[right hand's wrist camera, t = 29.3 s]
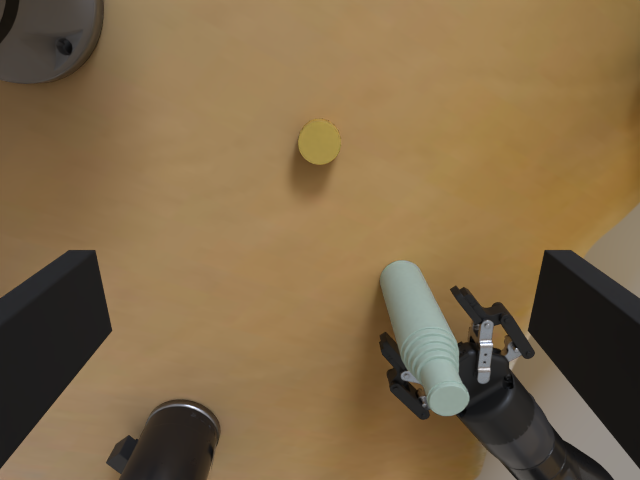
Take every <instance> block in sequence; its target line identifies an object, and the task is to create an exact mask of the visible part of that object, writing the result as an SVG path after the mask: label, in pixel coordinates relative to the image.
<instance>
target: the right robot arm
mask: <svg viewBox="0 0 640 480" xmlns="http://www.w3.org/2000/svg"><path fill="white" fill-rule="evenodd" d="M103 13H104V4H103V0H0V80H4V81H8V82H13V83H26V84H27V83H46V82H52V81H55V80H59V79H61V78H64V77H66V76H68V75H70V74H71V73H73V72H74V71H76V70H77V69H78V68H80V67H81V66H82V65H83V64H84V63H85V61H86V60H87V59H88V58H89V57H90V55H91V53H92V52H93V50H94V48H95V46H96V44H97V42H98V39H99V36H100V33H101V29H102V23H103ZM111 332H112V328H111V323H110V318H109V313H108V309H107V304H106V299H105V294H104V289H103V285H102V280H101V275H100V270H99V266H98V261H97V256H96V251H95V250H69V251H67V252H66V253H64V254H63V255H61V256H60V257H59V258H57V259H56V260H54V261H53V262H51V263H50V264H49V265H47V266H46V267H44V268H43V269H41V270H40V271H39V272H37V273H36V274H34V275H33V276H32V277H30V278H29V279H27V280H26V281H24V282H23V283H22V284H20V285H19V286H17V287H16V288H14V289H13V290H12V291H10V292H9V293H7V294H6V295H4V296H3V297H2V298H0V469H1V467H2V466H3V465H4V464H5V462H6V461H7V460H8V459H9V457H10V456H11V455H12V454H13V453H14V451H15V450H16V449H17V448H18V446H19V445H20V444H21V443H22V441H23V440H24V439H25V438H26V436H27V435H28V434H29V433H30V432H31V430H32V429H33V428H34V427H35V425H36V424H37V423H38V422H39V420H40V419H41V418H42V417H43V415H44V414H45V413H46V412H47V411H48V409H49V408H50V407H51V406H52V404H53V403H54V402H55V401H56V399H57V398H58V397H59V396H60V394H61V393H62V392H63V391H64V390H65V388H66V387H67V386H68V385H69V383H70V382H71V381H72V380H73V378H74V377H75V376H76V375H77V373H78V372H79V371H80V370H81V369H82V367H83V366H84V365H85V364H86V362H87V361H88V360H89V359H90V357H91V356H92V355H93V354H94V353H95V351H96V350H97V349H98V348H99V346H100V345H101V344H102V343H103V341H104V340H105V339H106V338H107V336H108V335H109V334H110V333H111ZM528 332H529V333H530V334H531V335H532V336H533V338H534V339H535V340H536V341H537V343H538V344H539V345H540V346H541V348H542V349H543V350H544V351H545V353H546V354H547V355H548V356H549V357H550V359H551V360H552V361H553V362H554V364H555V365H556V366H557V367H558V369H559V370H560V371H561V372H562V374H563V375H564V376H565V377H566V378H567V380H568V381H569V382H570V383H571V385H572V386H573V387H574V388H575V390H576V391H577V392H578V393H579V394H580V396H581V397H582V398H583V399H584V401H585V402H586V403H587V404H588V406H589V407H590V408H591V409H592V410H593V412H594V413H595V414H596V415H597V417H598V418H599V419H600V420H601V422H602V423H603V424H604V425H605V427H606V428H607V429H608V430H609V432H610V433H611V434H612V435H613V436H614V438H615V439H616V440H617V441H618V443H619V444H620V445H621V446H622V448H623V449H624V450H625V451H626V453H627V454H628V455H629V456H630V457H631V459H632V460H633V461H634V462H635V464H636V465H637V466H638V467H639V469H640V298H638V297H637V296H636V295H634V294H633V293H631V292H630V291H628V290H627V289H626V288H624V287H623V286H621V285H620V284H618V283H617V282H616V281H614V280H613V279H611V278H610V277H608V276H607V275H606V274H604V273H603V272H601V271H600V270H599V269H597V268H596V267H594V266H593V265H591V264H590V263H588V262H587V261H586V260H584V259H583V258H581V257H580V256H579V255H577V254H576V253H574V252H573V251H571V250H545V251H544V256H543V261H542V266H541V270H540V275H539V280H538V285H537V289H536V294H535V299H534V304H533V309H532V313H531V318H530V323H529V328H528Z"/></svg>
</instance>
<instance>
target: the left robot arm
mask: <svg viewBox="0 0 640 480" xmlns="http://www.w3.org/2000/svg"><path fill="white" fill-rule="evenodd" d="M450 290H451V292H452V294H453V295H454V297H455V298H456V300H457V301H458V302H459V304H460V305H461V306H462V307H463V309H464V310H465V311H466V312H467V314H468V315H469V316H470V318H471V319H472V324H471V327H469V334H468V342H466V343H462V341H461V342H460V343H458V344H457V345H458V349H459V377H460V379H461V381H462V383H463V385H464V386H465V387H466V389H467V392H468V393H469V402H468V405H467V406H466V407H465V409H464V410H462V411H461V412H460V413H458V414H456V415H457V416H458V418H459V419H460V420H461V421H462V422H463V423H464V424H465V425H466V427H467V428H468V429H469V430H470V431H471V432H472V433H473V434H474V436H475V437H476V438H477V439H478V440H479V441H480V442H481V443H482V445H483V446H484V447H485V448H486V449H487V450H488V451H489V452H490V453H491V454H493V455H494V456H495V457H496V458H498V459H499V460H500V461H501V463H502V464H503V465H504V466H505V467H506V468H507V469H508V470H509V472H510V473H511V474H512V475H513V476H514V477H515V478H516V479H517V480H614V479H613V478H612V477H611V475H610V474H609V473H608V472H607V471H606V470H605V469H604V468H603V467H602V466H601V465H600V464H599V463H597V462H596V461H595V460H593V459H592V458H590V457H589V456H587V455H586V454H584V453H583V452H581V451H580V450H578V449H577V448H575V447H574V446H572V445H571V444H569V443H567V442H566V441H564V440H562V438H561V437H560V436H559V434H558V433H557V432H556V431H555V429H554V428H553V427H552V426H551V424H550V423H549V422H548V420H547V418H546V416H545V414H544V413H543V411H542V409H541V408H540V407H539V406H538V404H537V403H536V402H535V399H534V398H533V396H532V395H531V394H530V393H528V391H527V390H526V389H525V388H524V386H523V385H522V384H521V383H520V381H519V380H518V379H517V378H516V376H515V375H514V374H513V372H512V371H511V370H510V369H509V362H510V361H512V360H513V359H515V358H517V357H519V356H521V355H522V356H523V357H524V358H526V359H529V358H532V357H533V356H534V354H535V352H534V350H533V348H532V347H531V345H530V344H529V342H528V340H527V339H526V337H525V336H524V334H523V333H522V331H521V329H520V328H519V326H518V325H517V323H516V322H515V320H514V318H513V317H512V316H511V314H510V313H509V312H508V310H507V309H506V308H505V307H504V305H503V304H502V303H500V302H496V303H494V304H493V305H492V307H490V308H483V307H482V306H480V304H479V303H478V302H477V300H476V299H475V298H474V296H473V295H472V294H471V293H470V291H469V290H468V289H466V288H465V287H463V288H461V289H460V290H459V289H458V287H457V286H454V287H453V288H451V289H450ZM499 324H501V325H502V327H503V328H504V330H505V331H506V333H507V334H508V335H506V336H505V340H504V344H505V347H504V349H503V350H502V351H501V350H500V349H497V348H493V343H492V333H493V326H495V325H499ZM380 339H381V341H380V342H379V344H380V348H381V352H382V355H383V356H384V357H385V358H386V359H387V360H388V361H389V362H390V364H391V365H392V366H393V367H394V368H393V369H390V370H388V371H387V378H388V381H389V387H390V391H391V392H392V393H393V394H394V395H395V396H396V397H397V398H398V399H399V400H401V401H402V402H403V403H404V404H405V405H406V406H407V407H408V408H409V409H410V410H411V411H412V412H413V413H414V414H415V415H417V416H418V417H419V418H420V419H422V420H425V419H427V418H429V416H430V414H429V411H428V410H430V407H429V406H428V403H427V397H426V394H425V391H422V389H418V390H416V389H415V388H414V387H413V386H412V385H411V384H410V383H409V382H414V383H419V381H418V380H416V378H415V377H414V376H413V375H412V374H411V373H410V372H409V371H408V370H407V368H406V367H405V365H404V363H403V361H402V359H401V355H400V352H399V348H398V345H397V344H396V342H395V341H394V340H393V339H392V338H391V337H390V336H389V335H388V333H387V332H384V333H383V334H381V335H380ZM408 381H409V382H408ZM419 384H420V383H419ZM219 437H220V425H219V422H218V420H217V418H216V417H215V415H214V414H213V413H212V412H211V411H210V410H209V409H207V408H206V407H204V406H203V405H201V404H198V403H196V402H193V401H188V400H172V401H168V402H165V403H163V404H161V405H159V406H157V407H156V408H155V409H154V410H153V411H152V413H151V414H150V416H149V418H148V420H147V422H146V425H145V428H144V430H143V432H142V434H141V436H140V438H139V440H138V439H136V440H135V439H133V438H132V437H131V436H129V435H128V436H127V437H125V438H124V439H123V440H121V441H120V442H118V443H117V444H116V445H115V447H114V449H113V451H112V453H111V454H110V456H109V458H108V460H107V462H106V463H107V464H108V465H109V466H111V467H112V468H113V469H115V470H116V471H117V472H119V473H120V474H121V476H120V478H119V480H207V477H208V473H209V470H210V466H211V462H212V465H213V461H212V459H213V460H214V454H215V448H216V446H217V444H218V440H219ZM211 468H212V467H211Z"/></svg>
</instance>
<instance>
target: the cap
mask: <svg viewBox="0 0 640 480" xmlns="http://www.w3.org/2000/svg"><path fill="white" fill-rule="evenodd" d="M298 147H299V151H300V153H301V155H302V156H303V157H304V159H306V160H307V161H308V162H310V163H312V164H316V165H323V164H327V163H329V162H331V161H332V160H333V159H335V157H336V156H337V155H338V153H339V151H340V147H341V137H340V135H339V131H338V130H337V128H336V127H335V125H333V124H332V123H331V122H329V120H328V121H327V120H324V119H315V120H312V121H309V122H308V123H307V124H306V125H304V127H303V128H302V130H301V131H300V135H299V138H298Z"/></svg>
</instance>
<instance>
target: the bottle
mask: <svg viewBox="0 0 640 480" xmlns="http://www.w3.org/2000/svg"><path fill="white" fill-rule="evenodd" d="M380 285H381V289H382V292H383V296H384V299H385V303H386V306H387V310H388V313H389V317H390V320H391V324H392V327H393V331H394V334H395V338H396V341H397V345H398V348H399V352H400V355H401V359H402V361H403V363H404V365H405V367H406V368H407V370H408V371H409V372H410V373H411V374H412V375H413V376H414V377H415V378H416V380H418V381H419V383H420V384H421V385H422V386H423V388H424V391H425V394H426V397H427V403H428V406H429V407H430V409H431V410H432V411H434V412H435V413H436V414H438V415H441V416H452V415H456V414H458V413H460V412H461V411H462V410H464V409H465V407H466V406H467V405H468V402H469V393H468V392H467V389H466V387H465V386H464V385H463V383H462V381H461V379H460V377H459V349H458V345H457V341H456V339H455V337H454V335H453V333H452V331H451V329H450V327H449V325H448V323H447V321H446V319H445V318H444V316H443V314H442V312H441V310H440V308H439V306H438V304H437V302H436V300H435V298H434V296H433V294H432V292H431V290H430V288H429V286H428V284H427V282H426V280H425V278H424V276H423V275H422V273H421V271H420V269H419V268H418V266H417V265H415V264H414V263H412V262H410V261H405V260H400V261H395V262H393V263H391V264H389V265H388V266H387V267H385V269H384V270H383V271H382V273H381V276H380Z"/></svg>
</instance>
